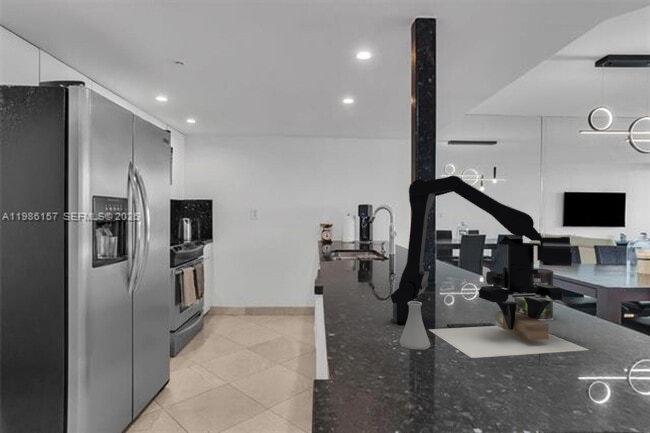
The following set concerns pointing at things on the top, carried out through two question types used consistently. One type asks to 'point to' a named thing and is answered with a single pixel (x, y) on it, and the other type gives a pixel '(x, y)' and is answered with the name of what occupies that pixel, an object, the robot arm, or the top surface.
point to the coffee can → (546, 278)
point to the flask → (414, 329)
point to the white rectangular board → (500, 342)
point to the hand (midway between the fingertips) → (520, 328)
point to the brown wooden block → (524, 326)
